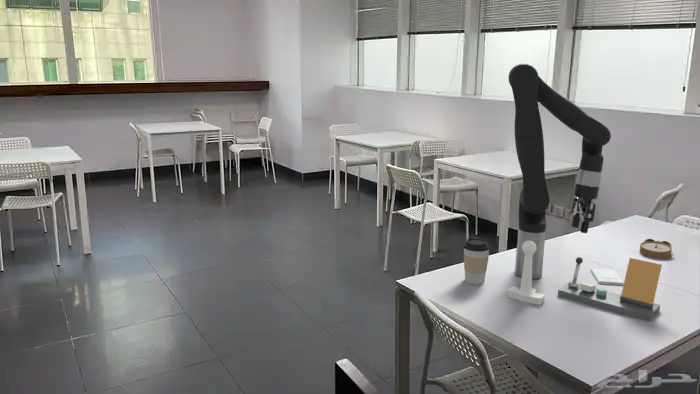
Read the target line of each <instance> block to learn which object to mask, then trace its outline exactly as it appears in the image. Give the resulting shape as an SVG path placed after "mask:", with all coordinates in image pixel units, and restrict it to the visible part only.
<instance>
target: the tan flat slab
mask: <svg viewBox="0 0 700 394" xmlns="http://www.w3.org/2000/svg"><path fill="white" fill-rule="evenodd" d="M628 260H629V261H628V264H627V268H626V274H625V277H624V281H623V283H624V285H622V286H623V287H622V291H621V296H620V301H624V302H628V303H632V304H635V305H639V306H643V307H646V308H650V309H653V303H654V301H655V297H656V295H657V288H658V284H659V279H660V275H661V271H662V266H663V264H660V263H655V262H651V261H647V260H641V259H637V258H633V257H629V259H628Z"/></svg>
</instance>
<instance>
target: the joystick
mask: <svg viewBox="0 0 700 394" xmlns="http://www.w3.org/2000/svg"><path fill="white" fill-rule="evenodd" d="M536 249H537V247H536V244H535V243H534V242H533V241H525V242H524V243H523V245H522V250H523V252H524V254H525V258H524V265H523V272H522V277H521V280H520V288H518V287H516V286H511V287H510V288H508V292H507V297H510V298H512V299H514V300H518V301H519V302H522V303H523V302H524V303H527V304H531V305H539V306H540V305H542V303H543V302H544V301H545V297H546V296H545V294H542V293H537V289H536V288H533V279H532V256H533V254H534V253H535V251H536Z"/></svg>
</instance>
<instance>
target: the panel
mask: <svg viewBox="0 0 700 394" xmlns="http://www.w3.org/2000/svg"><path fill="white" fill-rule="evenodd" d="M569 282H572V281H571V280H570V281H569ZM569 282H567V283H566V284H565V285H563V286H562V287H560V288H559V289H558V290H557V296H558V297H562V298H565V299H569V300H572V301H576V302H579V303H583V304H587V305H590V306H593V307H598V308H601V309H604V310H607V311H612V312H614V313H617V314H622V315H625V316H628V317H629V316H630V317H632V318H635V319H636V318H637V319H639V320H643V321H646V322H651V321H652V320H653V319H654V317H656V315H657V314H658V313H659V312H660V309H661V304H658V303H656V302H655V303H653V309H650V308H646V307H643V306H639V305H635V304H632V303H628V302H624V301H620V296H621V294H622V293H621V294H620V293H617V292H613V291H609V290H607V294H606V296H605V297H601V296H598V295H596V291H597V289H598V288H597V287H596V289H595V291H592V292H588V291H585V290H581V289H579V288H580V284H581V283H578V282H576V284H579V288H578V289H576V288H572V287H568V283H569Z"/></svg>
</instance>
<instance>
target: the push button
mask: <svg viewBox="0 0 700 394" xmlns="http://www.w3.org/2000/svg"><path fill="white" fill-rule="evenodd" d="M607 291H608V290H607V289H605V288H600V287H599V288H598V289H597V291H596V295H598V296H601V297H605V296H606V294H607Z"/></svg>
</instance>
